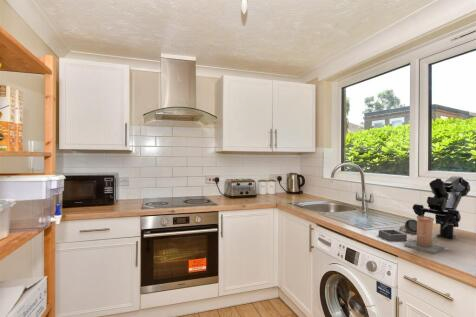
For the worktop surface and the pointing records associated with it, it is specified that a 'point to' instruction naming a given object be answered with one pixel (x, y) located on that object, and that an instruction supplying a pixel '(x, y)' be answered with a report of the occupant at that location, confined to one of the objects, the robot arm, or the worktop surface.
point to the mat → (433, 249)
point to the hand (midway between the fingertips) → (430, 226)
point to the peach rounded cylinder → (424, 231)
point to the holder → (393, 235)
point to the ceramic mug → (410, 225)
